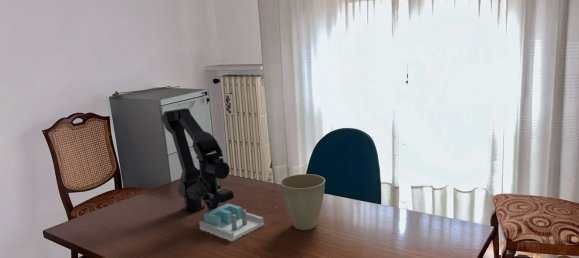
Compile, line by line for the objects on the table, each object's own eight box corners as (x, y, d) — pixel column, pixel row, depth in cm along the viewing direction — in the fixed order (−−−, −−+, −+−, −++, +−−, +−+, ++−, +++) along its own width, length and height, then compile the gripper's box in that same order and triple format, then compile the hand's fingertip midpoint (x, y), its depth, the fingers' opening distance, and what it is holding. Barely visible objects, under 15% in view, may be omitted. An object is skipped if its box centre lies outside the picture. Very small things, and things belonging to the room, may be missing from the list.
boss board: (200, 229, 155) (198, 212, 154) (232, 214, 166) (230, 198, 165) (231, 241, 145) (230, 223, 143) (263, 225, 156) (262, 208, 154)
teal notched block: (204, 224, 156) (203, 213, 155) (229, 213, 164) (228, 203, 163) (218, 229, 151) (217, 218, 150) (242, 218, 159) (241, 207, 159)
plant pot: (336, 225, 152) (334, 180, 149) (301, 239, 143) (299, 192, 140) (307, 212, 164) (305, 170, 160) (274, 225, 155) (271, 180, 152)
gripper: (173, 174, 158) (178, 216, 161) (207, 184, 146) (212, 229, 149) (198, 166, 166) (202, 206, 169) (233, 174, 154) (237, 217, 157)
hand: (212, 214), depth 161 cm, fingers closed
